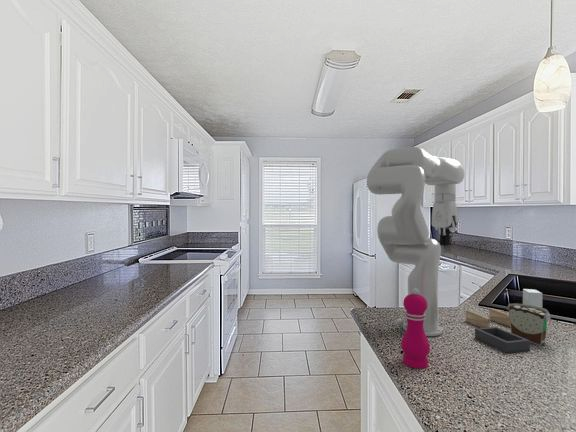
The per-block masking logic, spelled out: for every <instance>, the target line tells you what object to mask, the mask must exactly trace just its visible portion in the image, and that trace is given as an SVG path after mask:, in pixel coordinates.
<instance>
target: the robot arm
mask: <svg viewBox="0 0 576 432" xmlns="http://www.w3.org/2000/svg"><path fill="white" fill-rule="evenodd" d="M464 179H465V169H464V166H463V164H462V163H460V162H459V161H458V160H456V159H453V158H449V157H442V156H441V157H440V156H435V155H432V154H430V153H428V152H427V151H425V150H424V149H423V148H421V147H419V146H407V147H401V148H393V149H392V148H391V149H388V150H386V151H384V153H382V154H381V155H380V157H379V158H378V159H377V160H376V162H375V163H374V164H373V166H372V167H371V168H370V170H369V171H368V173H367V176H366V186H367V188H368V191H369V192H370V193H372V194H374V195H380V196H381V195H382V196H383V195H400V194H401V196H400V197H399V198H398V199H397V200H396V202H395V203H394V204H393V206H392V208H391V215H388V216H384V217H382V218H380V220H379V221H378V223H377V228H376V229H377V230H376V232H377V233H376V234H377V236H378V237H377V238H378V240H379V243H380V244H381V246H382V249H383V250H384V252H385V254H386V256H387V258H388V259H389V260H390V261H391V262H394V263H397V264H406V265H413V266H415V267H414V268H413V269H412V270H411V271H410V272H409V274H408V277H407V295H409V294H412V289H414V288H416V289H418V290H419V295H422V296H423V297H424V298H425V299H426V301H427V305H428V306H427V309H426V311H425V312H424V313H425V314H426V315H425V318H426V319H425V320H424V322H423V328H424V332H425V335H426V337H438V336H440V335H442V334H443V332H444V329H443V327H442V326H440V325H439V311H438V310H439V308H438V307H439V305H438V304H439V291H438V290H439V283H438V282H439V267H440V265H439V264H440V259H441V255H442V247H441V246H444V247H445V246H446V247H448V246H450V245H451V241H450V240H451V239H450V237H451V235H452V233H453V232H455V231H456V227H457V226H458V221H459V220H458V209H457V208H458V207H457V202H456V195H457V194H456V185H458V184H461V183H462V182H463V180H464ZM425 184H426V185H427V186H434V202H433V205H432V210H431V226H432V227H433V228H434V230H435V231H438V235H439V241H438V240H437V239H434V238H431V237H429V235H430V234H429V229H428V225H427V222H426V220H425V218H424V215H423V212H422V210H421V204H422V200H423V196H424V191H425ZM394 325H395V326H402V328H403V330H404V331H405V332H406V330H407V318H406V317H405V316H404V317H403V318H402V319H401V318H396V319H394Z"/></svg>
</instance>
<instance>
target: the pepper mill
mask: <svg viewBox="0 0 576 432" xmlns="http://www.w3.org/2000/svg"><path fill="white" fill-rule="evenodd" d="M402 302H403V303H402V304H403V308H404V309H405V310H406V311H405V313H404V314H405V315H404V318H405V317H406V318H407V330H406V331H405V332H404V334H403V336H402V338H401V344H400V348H401V350H402V352H403V355H402V363H403V365H405V366H407V367H409V368H412V369H413V368H414V369H419V370H420V369H425V368H428V366H429V359H428V355H429V353H430V352H431V345H430V342H429V340H428V336H426V335H425V332H424V328H423V322H424V320H425V319H426V318H425V315H426V314H425V313H424V312H425V311H426V309H427V306H428V305H427V301H426V299H425V298H424V297H423V296H422V295H419V290H418V289H416V288H414V289H412V294H409V295H408V294H407V295H406V296H405V298H404V299H403V301H402Z"/></svg>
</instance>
